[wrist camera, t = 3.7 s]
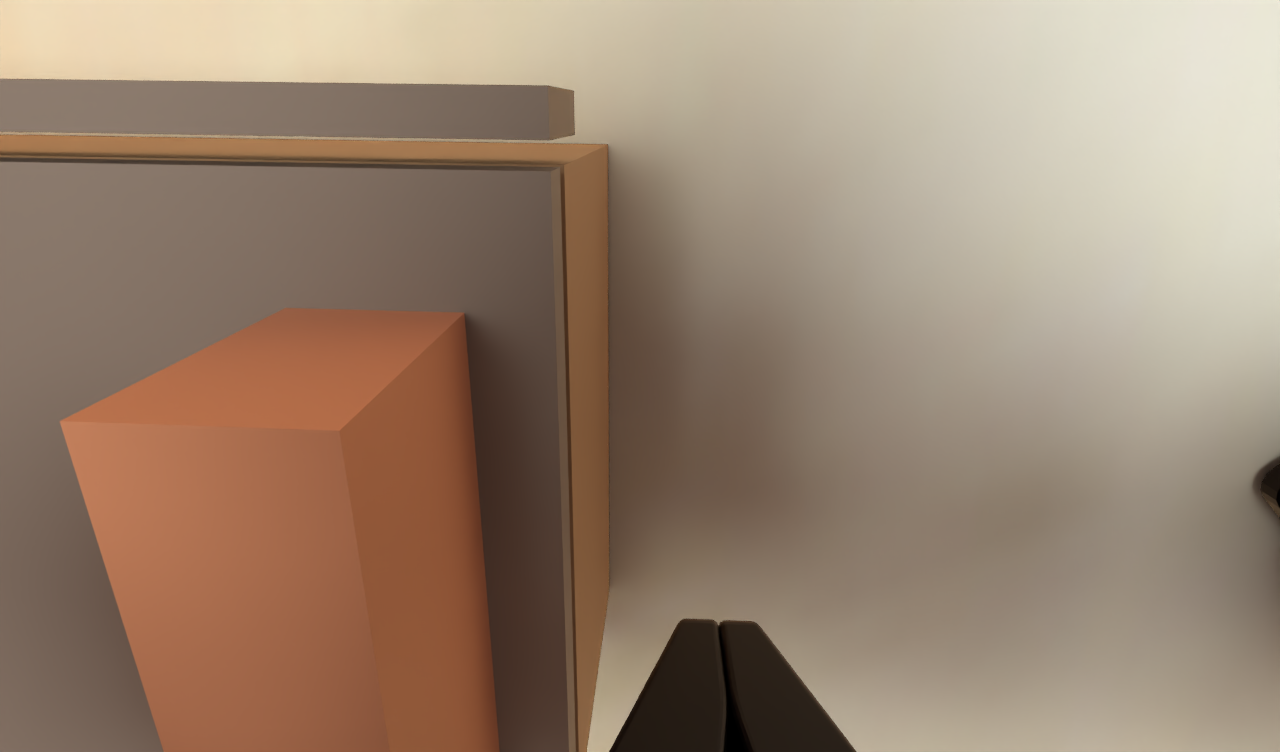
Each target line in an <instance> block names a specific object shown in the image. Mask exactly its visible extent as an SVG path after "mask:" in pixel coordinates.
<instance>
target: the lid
mask: <svg viewBox="0 0 1280 752" xmlns="http://www.w3.org/2000/svg"><path fill="white" fill-rule="evenodd" d="M0 131H1V132H64V133H127V134H190V135H253V136H316V137H378V138H441V139H504V140H553V139H557V138H562V137H566V136H571V135H575V128H574V91H572V90H567V89H562V88H557V87H552V86H532V85H452V84H373V83H293V82H214V81H134V80H55V79H0ZM0 752H576V739H575V702H574V665H573V628H572V591H571V554H570V517H569V480H568V443H567V406H566V369H565V332H564V295H563V258H562V222H561V185H560V167H523V166H466V165H409V164H352V163H295V162H238V161H181V160H124V159H67V158H10V157H0Z"/></svg>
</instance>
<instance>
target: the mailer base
mask: <svg viewBox="0 0 1280 752" xmlns="http://www.w3.org/2000/svg"><path fill="white" fill-rule="evenodd" d="M0 157H10V158H67V159H124V160H181V161H238V162H295V163H352V164H409V165H466V166H523V167H560V185H561V222H562V258H563V295H564V332H565V369H566V406H567V443H568V480H569V517H570V554H571V591H572V628H573V665H574V702H575V739H576V752H587V745H588V738H589V731H590V724H591V717H592V710H593V702H594V695H595V688H596V681H597V674H598V667H599V660H600V653H601V646H602V639H603V632H604V624H605V617H606V610H607V603H608V596H609V342H608V144H550V143H488V142H426V141H364V140H301V139H239V138H177V137H115V136H53V135H0Z"/></svg>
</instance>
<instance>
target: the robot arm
mask: <svg viewBox="0 0 1280 752" xmlns="http://www.w3.org/2000/svg"><path fill="white" fill-rule="evenodd" d="M1261 492H1262V495H1263V497H1264V499H1265V500H1266V501H1267V503H1268V504H1269V505H1270V506H1271V508H1272V509H1273V510H1274V512H1275V513H1276V514H1277V516H1278V517H1279V518H1280V464H1279V465H1278V466H1276V467H1275V468H1273V469H1272V470H1271V471H1270V472H1269V473H1267V474H1266V476H1265V478H1264V479H1263V481H1262V484H1261ZM609 752H856V750H855V749H854V748H853V746H852V745H851V744H850V743H849V741H848V740H847V739H846V737H845V736H844V735H843V733H842V732H841V731H840V730H839V728H838V727H837V726H836V724H835V723H834V722H833V720H832V719H831V718H830V717H829V715H828V714H827V713H826V711H825V710H824V709H823V707H822V706H821V705H820V704H819V702H818V701H817V700H816V698H815V697H814V696H813V694H812V693H811V692H810V691H809V689H808V688H807V687H806V685H805V684H804V683H803V682H802V680H801V679H800V678H799V676H798V675H797V674H796V672H795V671H794V670H793V669H792V667H791V666H790V665H789V663H788V662H787V661H786V659H785V658H784V657H783V656H782V654H781V653H780V652H779V650H778V649H777V648H776V646H775V645H774V644H773V643H772V641H771V640H770V639H769V637H768V636H767V635H766V633H765V632H764V631H763V630H762V628H761V627H760V626H759V625H758V624H757V623H755V622H752V621H734V620H723V621H722V622H720V624H719V626H718V624H717V623H716V622H715V621H714V620H710V619H682V620H681V621H680V622H679V623H678V624H677V626H676V628H675V630H674V632H673V634H672V636H671V637H670V639H669V641H668V643H667V645H666V647H665V649H664V651H663V652H662V654H661V656H660V658H659V660H658V662H657V664H656V665H655V667H654V669H653V671H652V673H651V675H650V677H649V679H648V680H647V682H646V684H645V686H644V688H643V690H642V692H641V693H640V695H639V697H638V699H637V701H636V703H635V705H634V707H633V708H632V710H631V712H630V714H629V716H628V718H627V720H626V721H625V723H624V725H623V727H622V729H621V731H620V733H619V735H618V736H617V738H616V740H615V742H614V744H613V746H612V748H611V749H610V751H609Z"/></svg>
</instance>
